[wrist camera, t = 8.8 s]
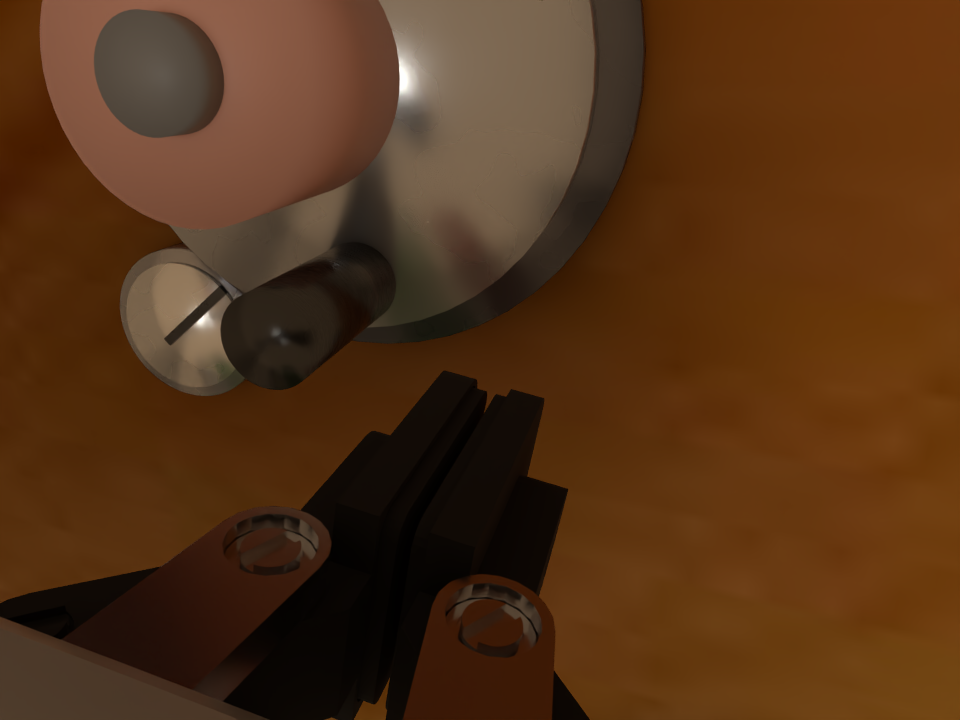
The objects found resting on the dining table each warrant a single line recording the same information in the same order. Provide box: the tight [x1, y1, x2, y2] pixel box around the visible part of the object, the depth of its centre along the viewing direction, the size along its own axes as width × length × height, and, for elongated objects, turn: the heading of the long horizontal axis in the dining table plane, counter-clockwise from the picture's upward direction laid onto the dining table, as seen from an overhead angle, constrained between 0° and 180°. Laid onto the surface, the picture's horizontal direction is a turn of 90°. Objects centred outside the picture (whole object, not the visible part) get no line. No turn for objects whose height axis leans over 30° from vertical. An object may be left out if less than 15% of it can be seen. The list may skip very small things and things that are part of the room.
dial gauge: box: [120, 243, 246, 396], centre depth 24 cm, size 5×5×1 cm
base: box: [218, 0, 646, 344], centre depth 20 cm, size 15×15×1 cm
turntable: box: [169, 0, 600, 390], centre depth 16 cm, size 13×13×6 cm
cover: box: [40, 0, 400, 229], centre depth 16 cm, size 6×6×5 cm
